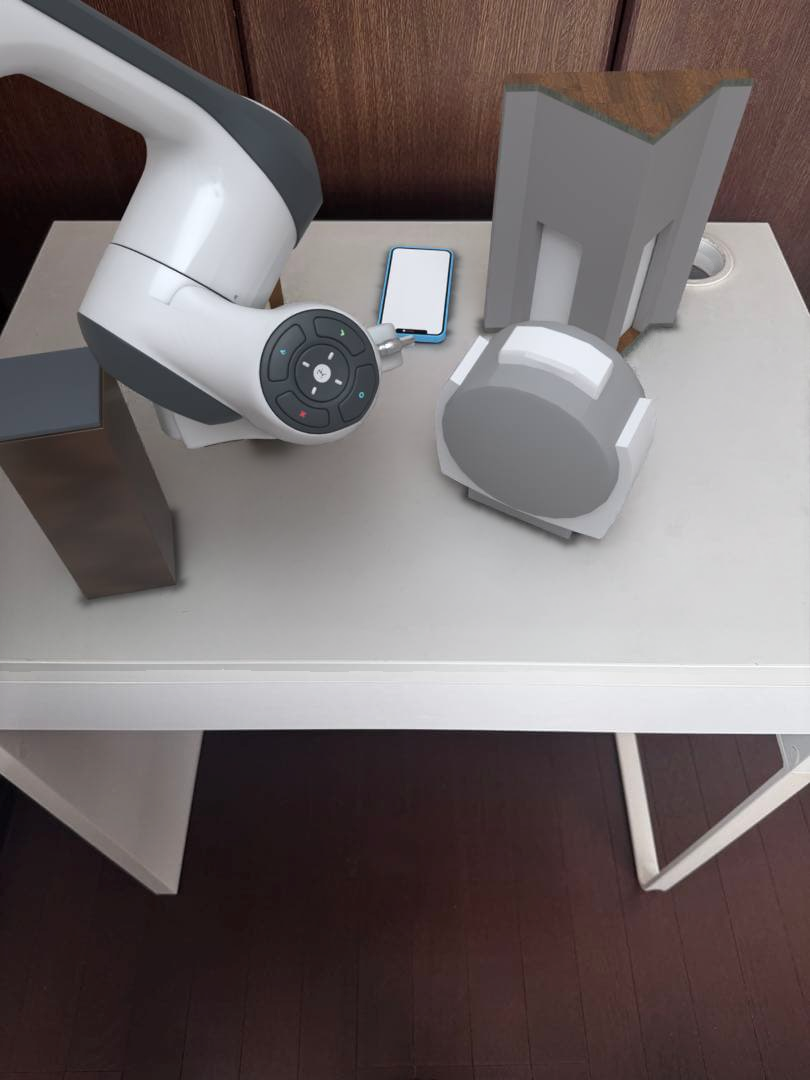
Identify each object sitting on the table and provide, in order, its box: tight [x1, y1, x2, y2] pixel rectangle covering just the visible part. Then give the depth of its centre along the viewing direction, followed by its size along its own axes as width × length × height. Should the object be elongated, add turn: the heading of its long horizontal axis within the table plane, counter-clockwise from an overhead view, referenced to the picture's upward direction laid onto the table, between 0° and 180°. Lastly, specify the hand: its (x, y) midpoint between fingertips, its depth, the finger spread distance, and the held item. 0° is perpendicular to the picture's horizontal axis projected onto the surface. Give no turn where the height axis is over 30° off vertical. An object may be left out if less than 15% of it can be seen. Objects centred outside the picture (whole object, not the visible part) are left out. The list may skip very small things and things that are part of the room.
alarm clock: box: [434, 321, 657, 540], centre depth 76 cm, size 18×8×20 cm, turn 62°
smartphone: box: [377, 245, 454, 343], centre depth 99 cm, size 8×1×15 cm
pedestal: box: [0, 368, 177, 600], centre depth 72 cm, size 8×8×22 cm
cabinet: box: [482, 67, 756, 356], centre depth 83 cm, size 21×10×28 cm, turn 92°
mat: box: [0, 346, 101, 441], centre depth 62 cm, size 8×8×1 cm
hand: (270, 377), depth 77 cm, fingers open, 8 cm apart
